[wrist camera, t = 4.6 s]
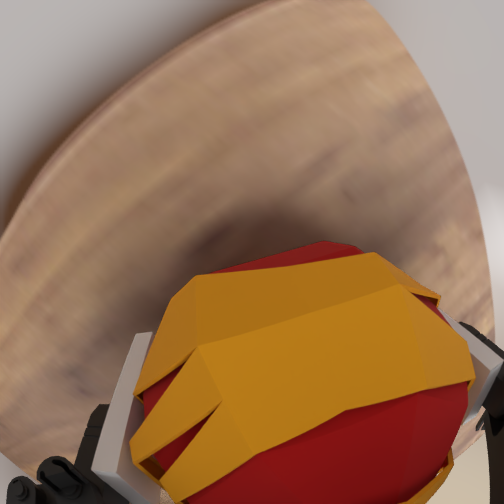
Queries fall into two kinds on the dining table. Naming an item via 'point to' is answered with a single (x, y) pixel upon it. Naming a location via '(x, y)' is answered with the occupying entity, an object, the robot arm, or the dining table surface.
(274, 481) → the potion bottle
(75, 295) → the dining table surface
